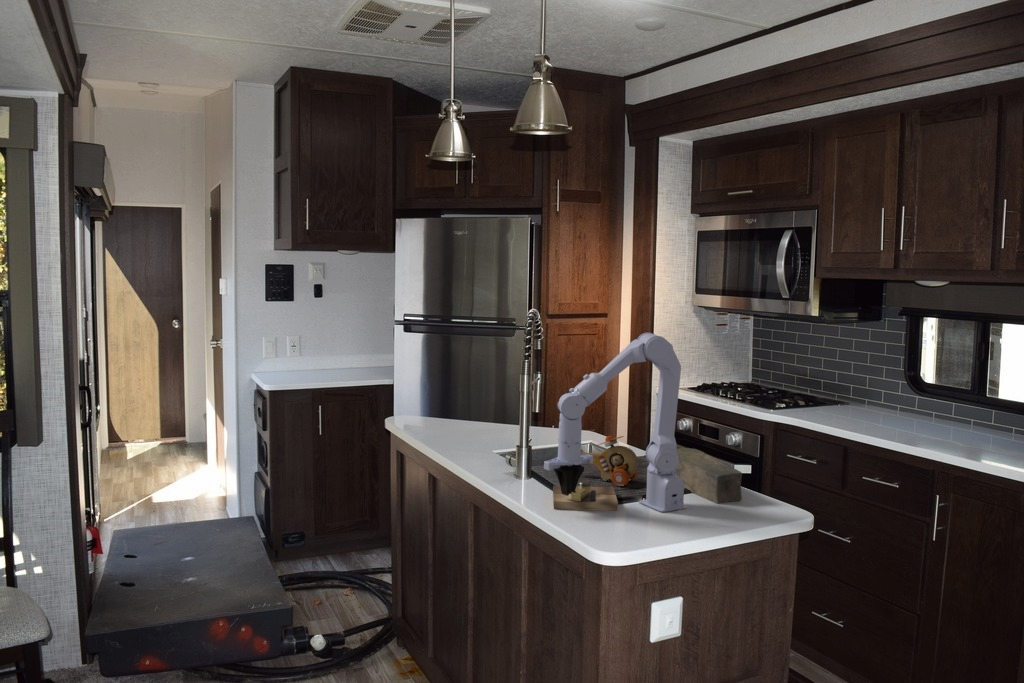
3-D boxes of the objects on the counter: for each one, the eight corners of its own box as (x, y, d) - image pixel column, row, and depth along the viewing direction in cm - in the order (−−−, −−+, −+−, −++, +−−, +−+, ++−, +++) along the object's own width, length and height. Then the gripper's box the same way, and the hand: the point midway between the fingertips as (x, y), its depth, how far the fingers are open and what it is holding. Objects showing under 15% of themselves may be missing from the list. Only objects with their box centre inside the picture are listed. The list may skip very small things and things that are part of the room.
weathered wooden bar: (685, 477, 240) (690, 444, 239) (744, 507, 217) (750, 470, 216) (656, 477, 236) (661, 443, 235) (713, 508, 212) (719, 470, 211)
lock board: (613, 494, 220) (613, 477, 220) (617, 510, 207) (618, 492, 206) (553, 492, 221) (553, 476, 221) (553, 509, 207) (554, 491, 207)
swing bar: (580, 489, 216) (580, 479, 215) (592, 491, 214) (592, 481, 214) (569, 499, 207) (569, 489, 206) (582, 501, 206) (582, 491, 205)
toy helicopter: (630, 489, 225) (631, 439, 224) (562, 478, 236) (563, 430, 234) (641, 482, 232) (642, 434, 231) (574, 471, 243) (575, 425, 241)
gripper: (557, 448, 200) (555, 502, 202) (602, 441, 209) (599, 493, 210) (539, 442, 206) (537, 495, 207) (583, 435, 214) (581, 486, 216)
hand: (567, 494), depth 209 cm, fingers closed
